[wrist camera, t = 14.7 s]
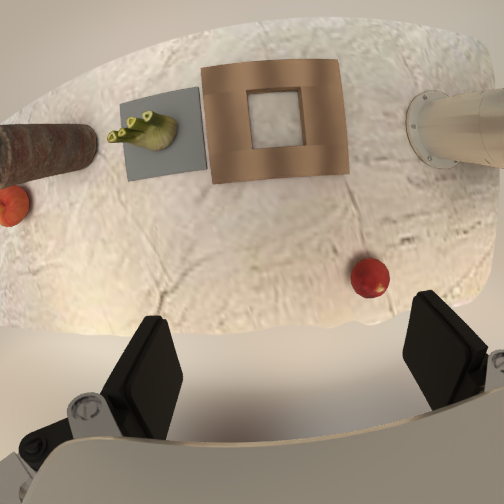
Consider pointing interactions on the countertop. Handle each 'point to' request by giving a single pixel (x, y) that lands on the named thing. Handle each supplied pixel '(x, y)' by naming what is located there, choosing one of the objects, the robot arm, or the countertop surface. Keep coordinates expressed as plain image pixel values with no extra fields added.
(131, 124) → the fennel bulb
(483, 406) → the robot arm
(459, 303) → the countertop surface
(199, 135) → the mat
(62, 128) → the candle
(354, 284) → the red ovoid
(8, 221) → the apple
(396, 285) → the countertop surface
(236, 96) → the pocket holder
